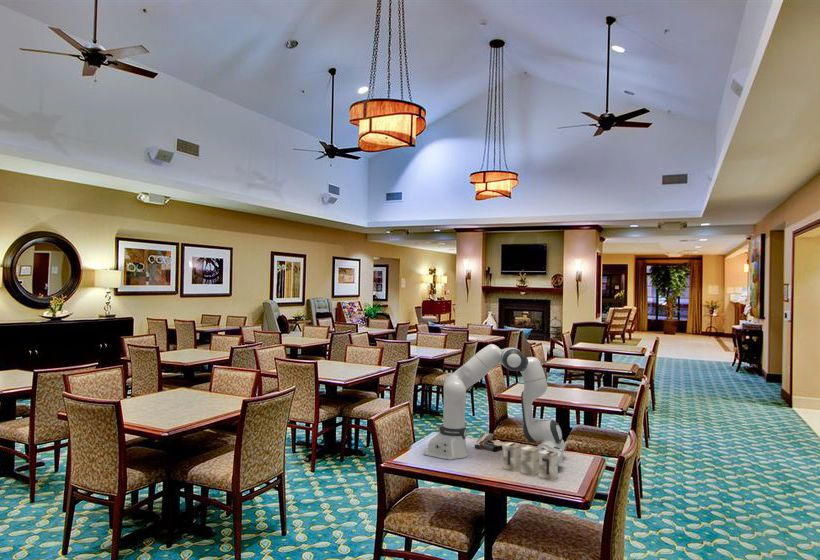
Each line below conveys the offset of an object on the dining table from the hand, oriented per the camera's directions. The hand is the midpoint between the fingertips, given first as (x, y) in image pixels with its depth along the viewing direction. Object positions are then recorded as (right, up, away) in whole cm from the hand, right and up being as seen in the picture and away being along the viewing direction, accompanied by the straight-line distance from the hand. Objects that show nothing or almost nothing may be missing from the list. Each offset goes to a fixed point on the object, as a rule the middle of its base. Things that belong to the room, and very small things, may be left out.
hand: (532, 459), depth 237 cm
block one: (-9, -6, +3) cm, 11 cm away
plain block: (-2, -5, -3) cm, 6 cm away
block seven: (+5, -5, -8) cm, 11 cm away
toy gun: (-12, -7, +43) cm, 45 cm away
